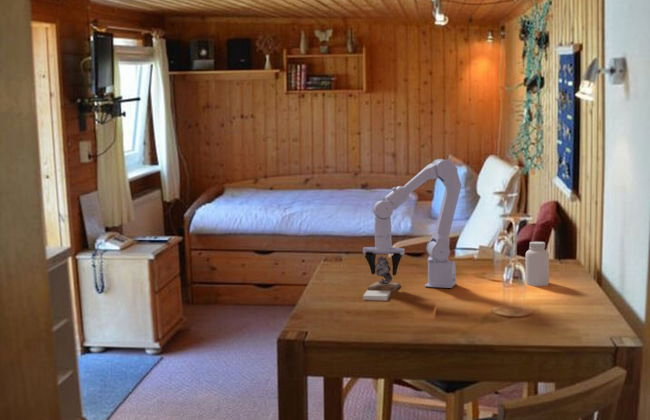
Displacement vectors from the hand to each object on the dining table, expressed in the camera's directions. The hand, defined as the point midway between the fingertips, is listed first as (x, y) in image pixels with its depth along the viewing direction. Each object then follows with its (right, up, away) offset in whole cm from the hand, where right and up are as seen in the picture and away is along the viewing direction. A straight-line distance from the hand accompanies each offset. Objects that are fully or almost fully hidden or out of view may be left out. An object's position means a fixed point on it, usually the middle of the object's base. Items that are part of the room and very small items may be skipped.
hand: (383, 274), depth 276 cm
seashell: (0, -4, 0) cm, 4 cm away
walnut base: (0, -6, +1) cm, 6 cm away
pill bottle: (+54, -4, +2) cm, 54 cm away
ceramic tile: (-3, -7, -10) cm, 12 cm away
